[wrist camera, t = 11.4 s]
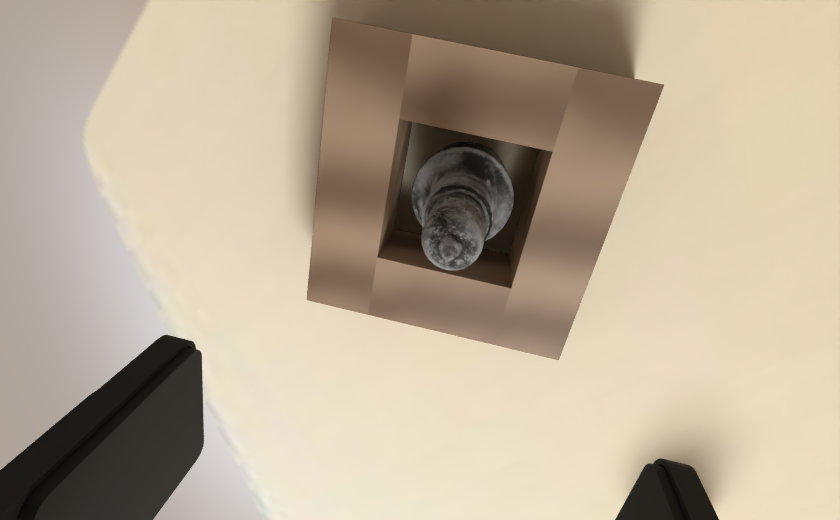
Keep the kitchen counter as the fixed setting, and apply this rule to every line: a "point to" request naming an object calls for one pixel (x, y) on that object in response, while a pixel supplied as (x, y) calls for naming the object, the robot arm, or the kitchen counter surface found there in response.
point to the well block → (487, 117)
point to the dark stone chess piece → (461, 203)
